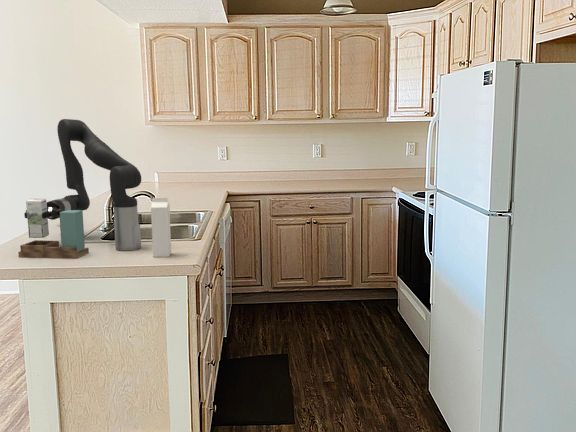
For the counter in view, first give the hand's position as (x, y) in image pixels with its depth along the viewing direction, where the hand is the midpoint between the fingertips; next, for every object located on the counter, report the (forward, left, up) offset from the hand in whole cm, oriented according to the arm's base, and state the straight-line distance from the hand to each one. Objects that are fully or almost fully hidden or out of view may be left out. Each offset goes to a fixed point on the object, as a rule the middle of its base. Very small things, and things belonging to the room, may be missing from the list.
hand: (34, 215), depth 217 cm
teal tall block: (-14, -2, -13) cm, 19 cm away
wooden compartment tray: (-6, -2, -15) cm, 17 cm away
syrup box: (0, -2, -9) cm, 9 cm away
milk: (-47, -6, -16) cm, 50 cm away
